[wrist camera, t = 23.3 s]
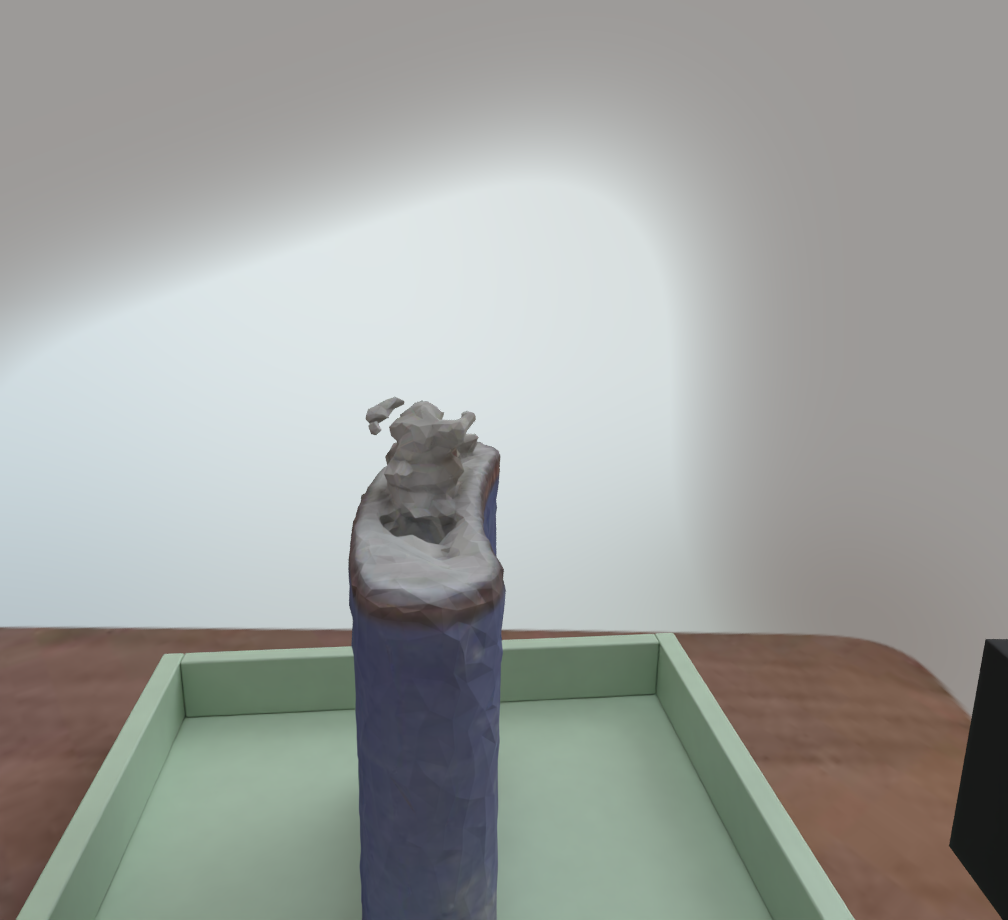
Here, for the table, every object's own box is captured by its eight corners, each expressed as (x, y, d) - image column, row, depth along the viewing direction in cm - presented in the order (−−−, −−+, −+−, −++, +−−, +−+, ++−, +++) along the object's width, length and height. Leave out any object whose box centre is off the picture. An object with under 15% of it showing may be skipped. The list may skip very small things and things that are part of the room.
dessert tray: (668, 701, 27) (673, 632, 27) (965, 1256, 13) (993, 1134, 12) (171, 725, 26) (163, 653, 25) (-140, 1394, 11) (-177, 1261, 10)
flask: (503, 1079, 15) (507, 471, 12) (329, 1081, 15) (291, 471, 12) (497, 753, 24) (499, 363, 21) (389, 753, 23) (376, 362, 21)
